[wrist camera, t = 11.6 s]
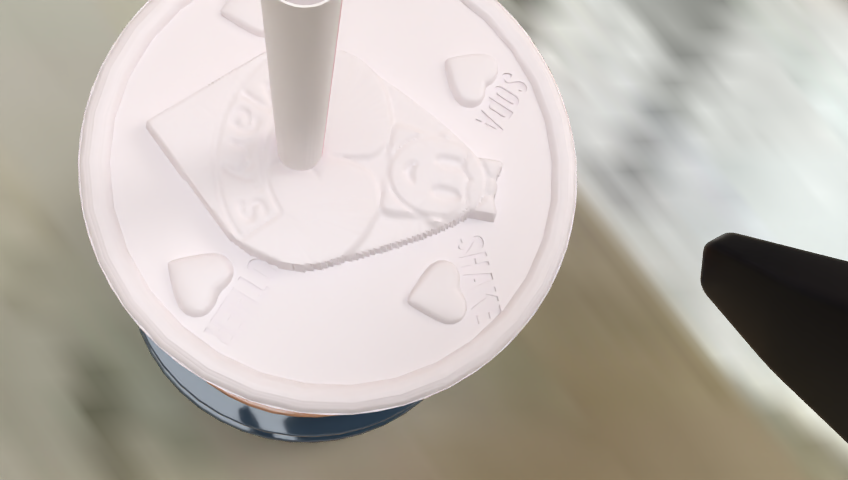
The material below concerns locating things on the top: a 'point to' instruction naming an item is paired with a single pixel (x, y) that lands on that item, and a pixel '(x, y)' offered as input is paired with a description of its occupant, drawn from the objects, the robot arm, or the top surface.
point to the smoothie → (328, 192)
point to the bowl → (267, 409)
